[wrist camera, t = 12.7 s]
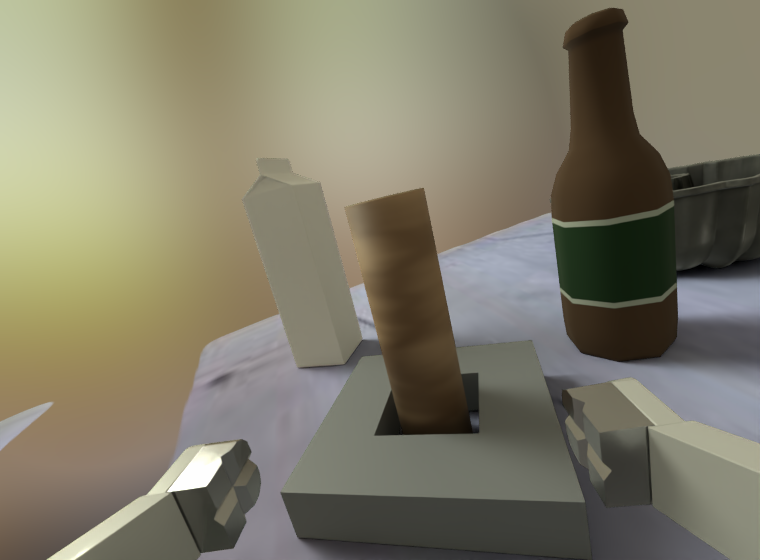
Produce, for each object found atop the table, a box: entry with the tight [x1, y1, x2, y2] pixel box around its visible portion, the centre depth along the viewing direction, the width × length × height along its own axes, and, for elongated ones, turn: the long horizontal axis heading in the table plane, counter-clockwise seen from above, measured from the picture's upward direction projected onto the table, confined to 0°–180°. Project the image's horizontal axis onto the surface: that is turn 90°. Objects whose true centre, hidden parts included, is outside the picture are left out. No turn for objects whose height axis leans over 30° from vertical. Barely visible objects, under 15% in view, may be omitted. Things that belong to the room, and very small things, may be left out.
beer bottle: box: [551, 8, 678, 362], centre depth 27 cm, size 8×8×24 cm
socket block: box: [280, 340, 592, 560], centre depth 23 cm, size 14×14×3 cm
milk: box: [242, 158, 363, 368], centre depth 38 cm, size 6×6×22 cm
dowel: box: [345, 188, 473, 435], centre depth 21 cm, size 4×4×16 cm
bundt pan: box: [550, 154, 760, 271], centre depth 45 cm, size 26×26×10 cm
